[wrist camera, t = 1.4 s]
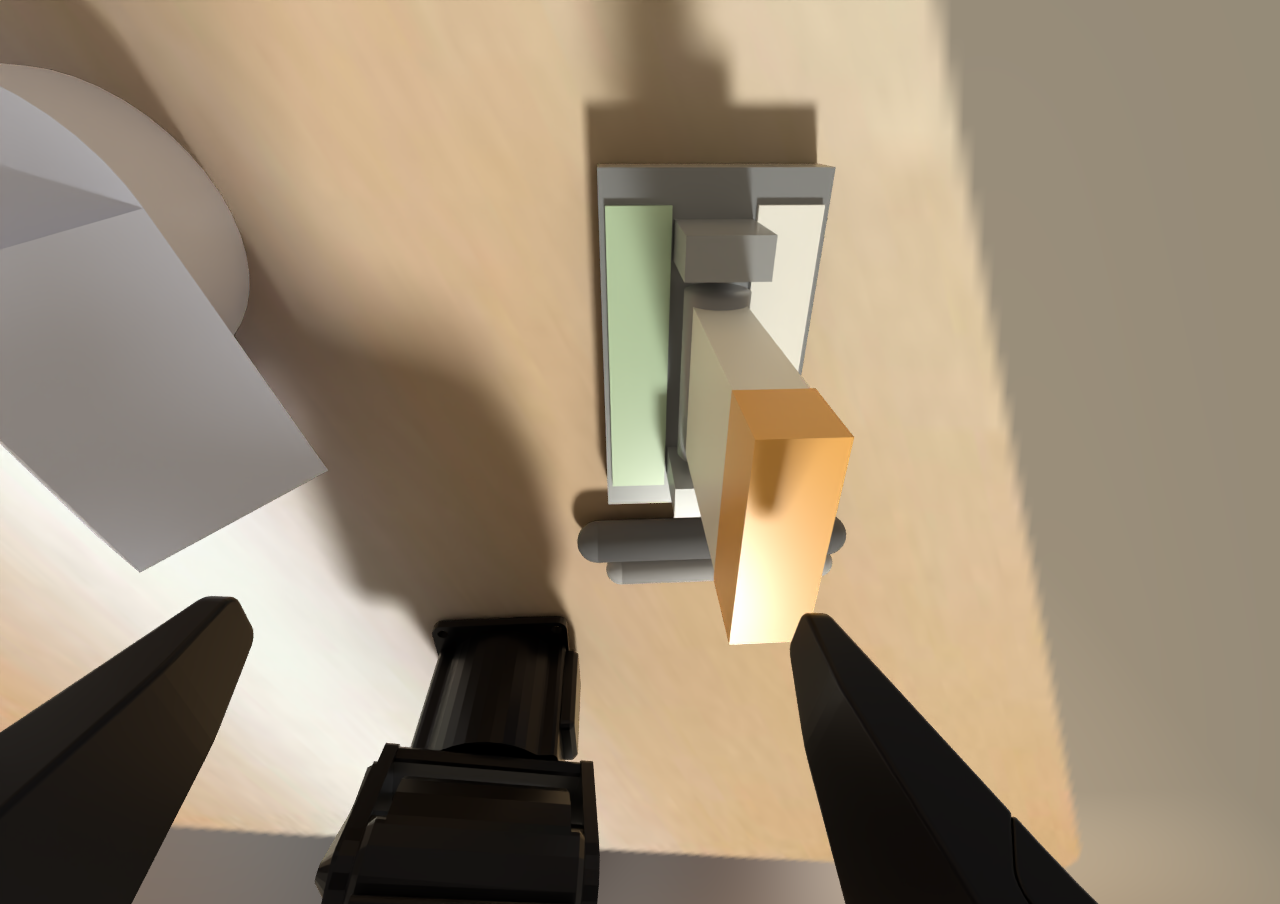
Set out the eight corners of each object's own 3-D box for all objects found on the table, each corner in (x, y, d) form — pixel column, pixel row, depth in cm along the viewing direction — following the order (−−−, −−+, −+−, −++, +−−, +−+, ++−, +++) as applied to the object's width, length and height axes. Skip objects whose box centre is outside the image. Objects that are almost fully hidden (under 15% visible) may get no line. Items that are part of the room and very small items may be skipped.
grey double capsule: (581, 570, 26) (579, 599, 24) (577, 512, 24) (575, 539, 23) (827, 561, 26) (841, 588, 25) (840, 504, 25) (856, 530, 23)
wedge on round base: (365, 423, 21) (110, 17, 15) (277, 534, 16) (-202, -48, 9) (162, 483, 22) (-164, 124, 16) (9, 608, 17) (-607, 126, 10)
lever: (674, 438, 20) (721, 652, 12) (680, 283, 17) (747, 427, 9) (728, 437, 20) (811, 648, 12) (743, 282, 17) (865, 423, 9)
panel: (608, 481, 23) (608, 551, 20) (597, 163, 17) (595, 175, 13) (770, 477, 24) (801, 544, 20) (817, 163, 18) (875, 175, 14)
